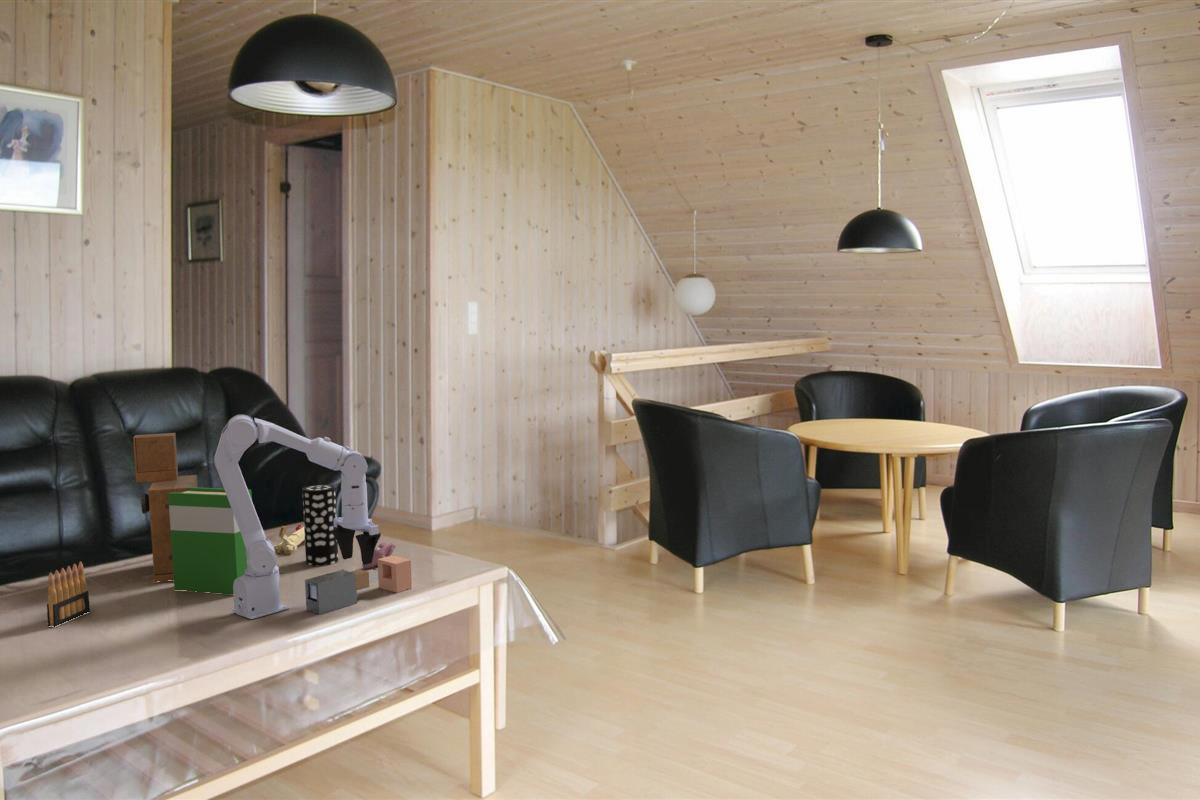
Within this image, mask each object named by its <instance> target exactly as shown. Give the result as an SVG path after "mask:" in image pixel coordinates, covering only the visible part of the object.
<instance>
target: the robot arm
mask: <svg viewBox="0 0 1200 800" xmlns="http://www.w3.org/2000/svg"><path fill="white" fill-rule="evenodd" d="M256 440H257V442H258V444H263V443H269V442H273V443H276V444H280V445H282V446H285V447H289V448H291V449H294V450H296V451H299V452H303V453H305V455H306V456H307V460H308V461H310V462H311V463H314V464H317V465H320V466H321V467H324V468H327V469H329V470H333V471H340V472H341V475H340V476H341V477H340V478H341V484H340V494H341V497H340V498H341V514H342V516H341V517H336V518H334V527H337V528H336V529H335V530H332V534H333V535H334V537H335V539H336V540H337V542H338V549H339V550H340V555H341V557H342V560H348V559H352V558H353V555H354V553H353V552H354V538H356V541H357V543H358V546H359V550H360V551H359V552H360V558H361V562H362V563H361V564H364V565H366V564H370V563H372V560H373V555H374V550H375V549H376V548H377V544H378V541H379V540H380V539H381V532H379V525H378V524H375V523H373V519H372V518H369V513H368V512H369V509H368V507H369V506H368V489H367V488H368V486H367V484H368V483H367V482H366V480H367V479H366V478H367V476H366V473H367V471H368V467H369V465H368V463H367V459H365V457H364V455H362V454H361V453H360V452H359V451H357V450H356V449H353V448H351V447H350V446H348V445H345V446H343V445H340V444H337V443H335V442H333V441H331V438H330V437H327V436H324V438H323V437H316V438H314V439H310V438H307V437H305V436H303V435H300V434H297V433H296V432H293V431H291V430H290V429H287V428H284V427H282V426H280V425H277V424H276V423H273V422H270V421H267V420H264V419H260V418H257V417H254V419H253V417H252V416H249V415H247V414H236V415H234V416H232V417H231V418H230V419H229V420H228V421H227V423H226V424H225V425H224V427H223V429H222V430H221V434H220V438H219V441H218V445H217V448H216V450H215V455H214V459H213V461H214V466H215V468H216V470H217V474H218V476H219V479H220V481H221V485H222V487H223V489H224V490H225V492H226V495H227V498H228V500H229V503H230V506H231V508H232V511H233V513H234V516H235V519H236V521H237V524H238V527H239V529H240V532H241V535H242V537H243V541H244V544H245V547H246V557H247V566H248V567H247V569H245V574H244V575H243V576H241V577H239V578H236V579H235V581H234V584H233V594H234V595H233V608H234V609H233V610H232V613H233V614H235V613H236V615H238V616H241V617H244V618H246V619H249V620H255V619H258V618H261V617H264V616H268V615H272V614H275V613H280V612H283V611H285V610H288V609H289V608H290V607H289V606H288V605H285V604H282V603H281V588H280V587H281V585H280V584H281V583H280V567H279V566H277V563H278V556H277V554H275V547H274V545H275V544H274V543H273V542H272V540H269V538H268V537H267V536H266V534H265V530H264V529H263V526H262V524H261V521H260V518H259V516H258V514H257V511H256V508H255V505H254V503H253V498H252V499H251V497H250V494H249V491H248V489H249V488H248V487H247V484H246V481H245V478H244V476H243V474H242V473H243V472H242V470H241V468H240V465H239V462H240V460H241V458H242V456H243V454H244V453H245V451H246V450H247V449H249V448H250V447H251V446H252V445H253V444H254V443H256ZM356 532H360V534H357V535H355V534H356Z"/></svg>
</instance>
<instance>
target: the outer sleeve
mask: <svg viewBox="0 0 1200 800" xmlns="http://www.w3.org/2000/svg"><path fill="white" fill-rule="evenodd" d="M310 584H311V585H314V586H316V593H317V599H314V598H311V597H310ZM304 585H305V586H304V588H305V607H306V609H305V610H306V611H308V612H311V613H314V614H317V615H323V614H325V613H329V612H332V611H336V610H338V609H342V608H346V607H348V606H352V605H356V604H358V594H357V591H358V590H357V591H356V573H352V572H351V571H348V570H344V569H341V570H337V571H334V572H333V571H332V572H330V573H325V574H322V575H317V576H314V577H310V578H307V579H305V580H304Z"/></svg>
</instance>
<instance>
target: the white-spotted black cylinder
mask: <svg viewBox="0 0 1200 800" xmlns="http://www.w3.org/2000/svg"><path fill="white" fill-rule="evenodd" d="M301 491H302V492H301V493H302V508H303V510H302V512H303V527H304V533H305V540H304V548H305V549H304V550H305V551H304V553H305V565H307V566H310V565H312V566H311V567H324V566H330V564H331V565H333V564H336V563H337V562H339V545H338V542H337V540H336V539H335V537H334V535H333V534H332V530H335V529H336V528H337V527H334V518H337V505H336V504H337V502H336V500H337V499H336V486H335V485H332V484H316V485H308V486H304V487H303V488H302V489H301Z"/></svg>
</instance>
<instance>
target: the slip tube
mask: <svg viewBox="0 0 1200 800" xmlns="http://www.w3.org/2000/svg"><path fill="white" fill-rule="evenodd" d="M350 572H352V573H356V591H361V590H363V589H367V588H370V584H372V583H376V582H377V583H378V570H375V569H371V568H370V569H367V570H365V569H364V570H363V569H360V568H359V569H356V570H352V571H350ZM310 597H311V598H314V599H317V593H316V586H314V585H311V584H310Z"/></svg>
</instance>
